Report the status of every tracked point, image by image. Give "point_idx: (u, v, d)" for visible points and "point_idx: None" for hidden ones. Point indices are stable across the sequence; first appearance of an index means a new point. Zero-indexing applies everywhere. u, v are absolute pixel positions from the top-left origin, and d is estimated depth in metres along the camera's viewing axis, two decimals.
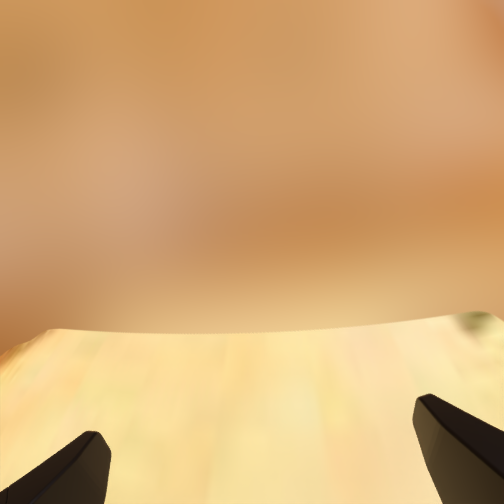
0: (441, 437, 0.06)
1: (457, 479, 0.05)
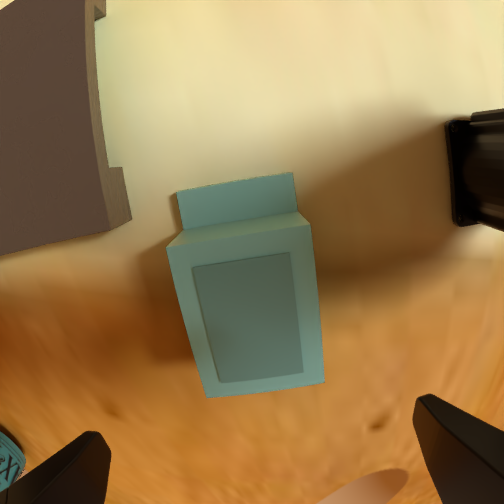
0: (441, 437, 0.06)
1: (457, 479, 0.05)
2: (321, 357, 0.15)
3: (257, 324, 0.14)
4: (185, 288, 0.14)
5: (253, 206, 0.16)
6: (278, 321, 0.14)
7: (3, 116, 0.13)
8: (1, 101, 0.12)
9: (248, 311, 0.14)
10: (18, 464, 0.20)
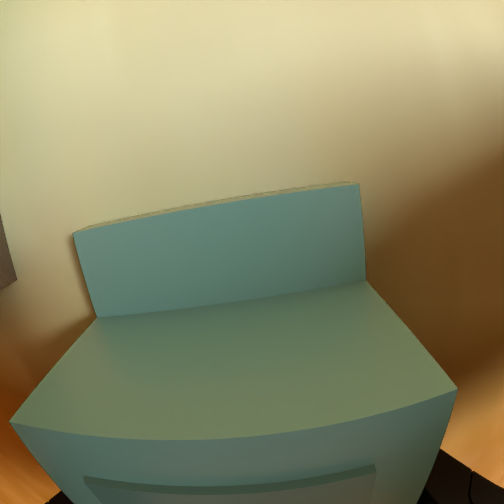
0: None
1: None
2: None
3: None
4: (86, 500, 0.04)
5: (257, 271, 0.06)
6: None
7: None
8: None
9: None
10: None
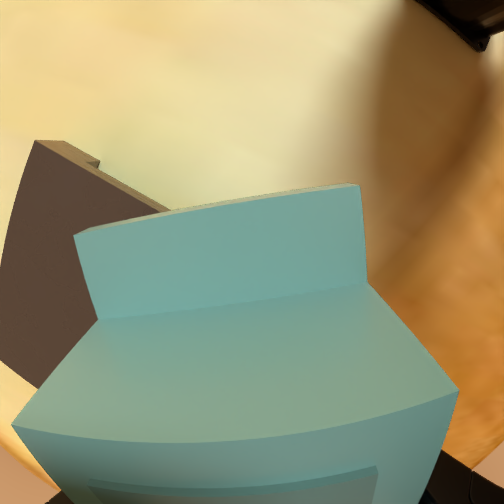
0: None
1: None
2: None
3: None
4: (88, 502, 0.04)
5: (258, 273, 0.06)
6: None
7: None
8: None
9: None
10: None
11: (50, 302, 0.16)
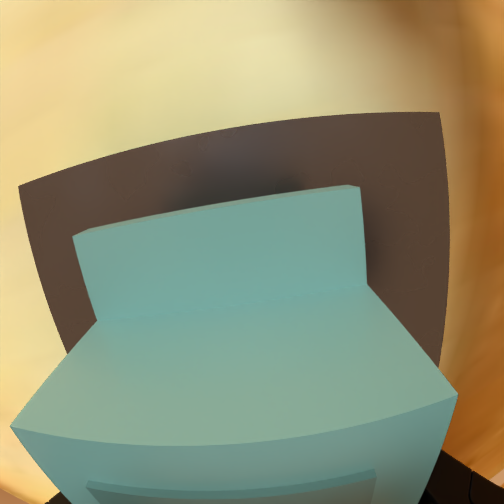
0: None
1: None
2: None
3: None
4: (87, 503, 0.04)
5: (258, 275, 0.06)
6: None
7: None
8: None
9: None
10: None
11: None
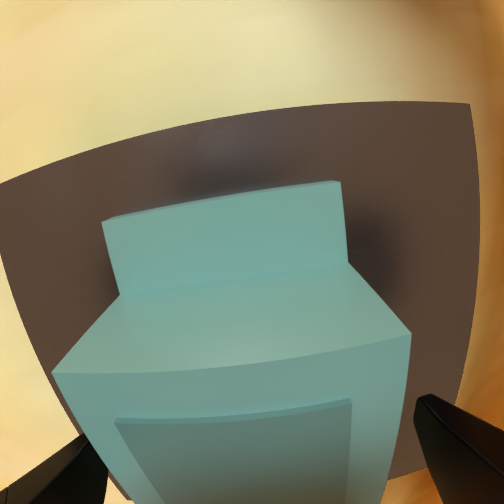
0: (442, 437, 0.06)
1: (458, 479, 0.05)
2: None
3: (264, 502, 0.06)
4: (110, 447, 0.05)
5: (257, 254, 0.08)
6: (307, 501, 0.05)
7: None
8: None
9: (244, 493, 0.05)
10: None
11: None
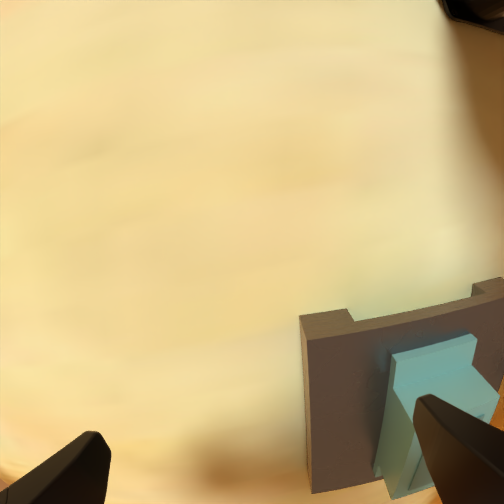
0: (441, 437, 0.06)
1: (457, 479, 0.05)
2: None
3: None
4: (416, 448, 0.14)
5: (446, 366, 0.16)
6: None
7: None
8: None
9: None
10: None
11: (372, 424, 0.19)
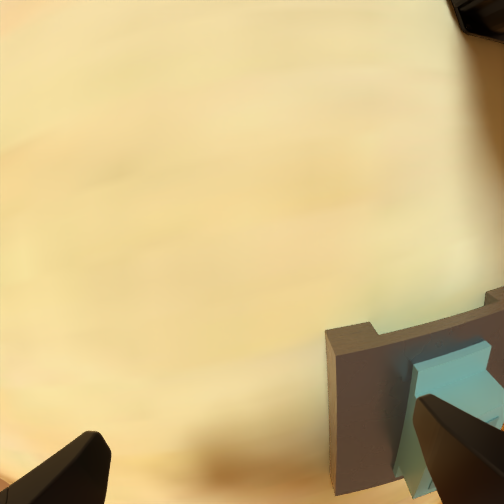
0: (441, 437, 0.06)
1: (457, 479, 0.05)
2: None
3: None
4: None
5: (463, 372, 0.17)
6: None
7: None
8: None
9: None
10: None
11: (394, 429, 0.19)
